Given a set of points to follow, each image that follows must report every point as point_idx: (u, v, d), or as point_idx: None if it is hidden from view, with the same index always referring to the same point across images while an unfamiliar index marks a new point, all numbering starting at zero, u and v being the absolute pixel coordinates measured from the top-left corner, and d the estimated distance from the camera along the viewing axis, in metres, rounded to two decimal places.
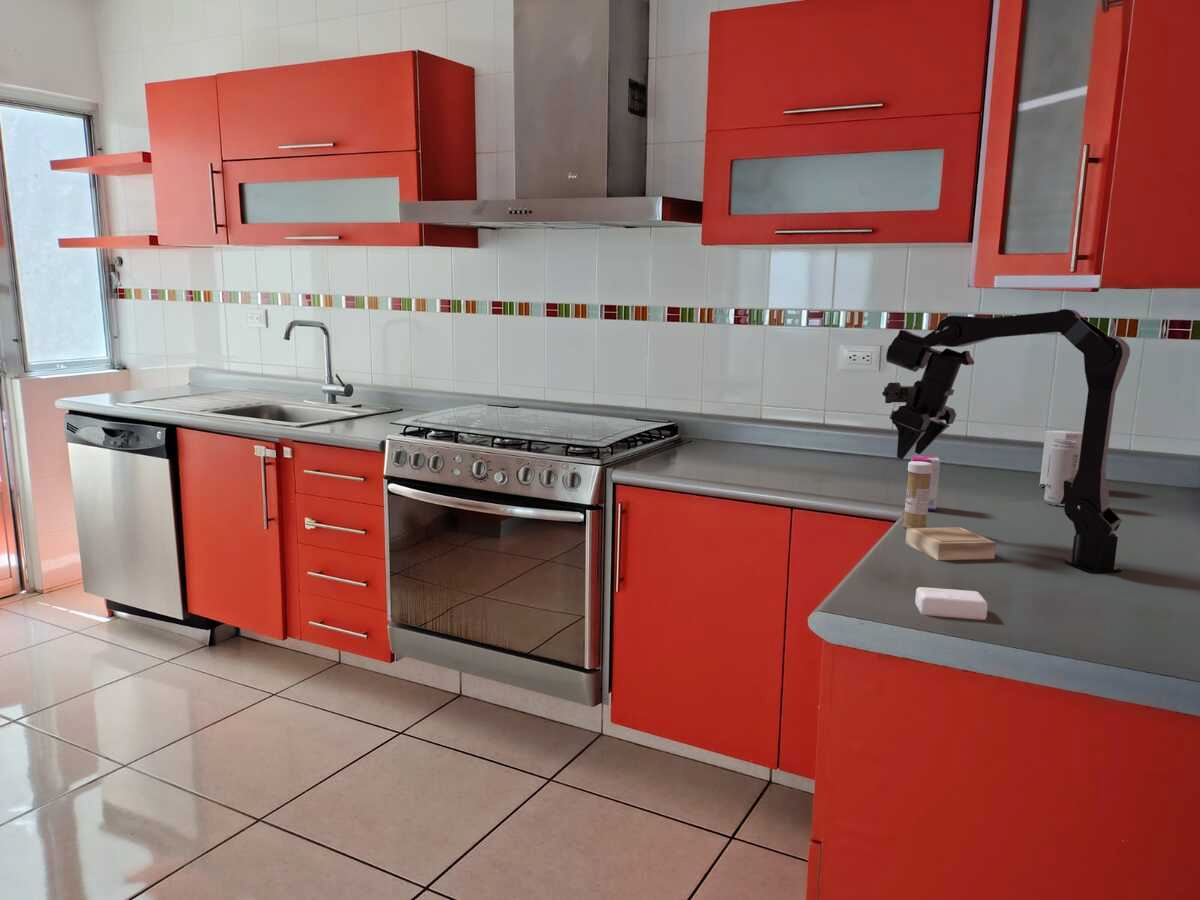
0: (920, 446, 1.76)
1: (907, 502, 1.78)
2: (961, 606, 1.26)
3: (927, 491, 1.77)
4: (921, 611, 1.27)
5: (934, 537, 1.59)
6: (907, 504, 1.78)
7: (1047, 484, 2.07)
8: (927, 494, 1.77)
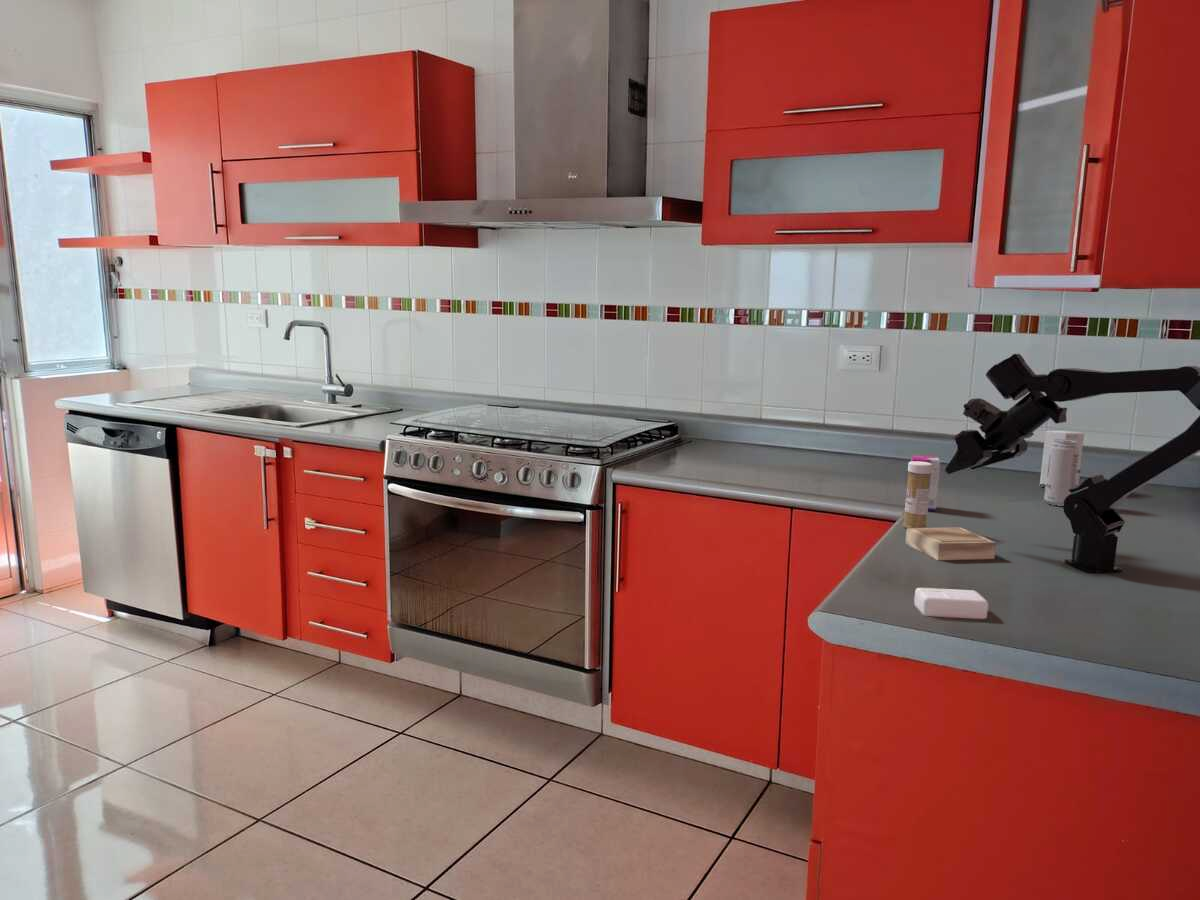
0: None
1: (907, 502, 1.78)
2: (963, 606, 1.26)
3: (927, 491, 1.77)
4: (923, 612, 1.27)
5: (934, 537, 1.59)
6: (907, 504, 1.78)
7: (1047, 484, 2.07)
8: (927, 494, 1.77)
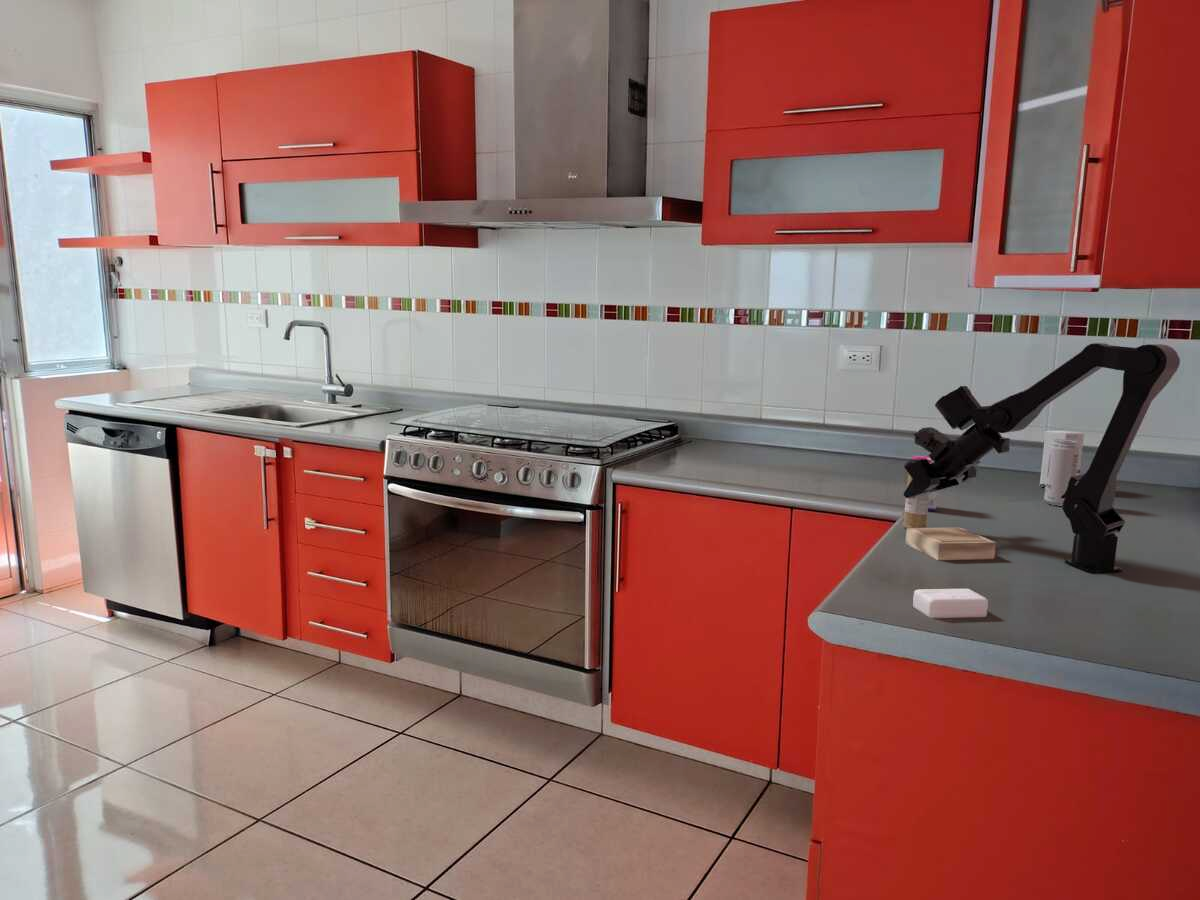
0: None
1: (907, 502, 1.78)
2: (966, 606, 1.26)
3: None
4: (929, 614, 1.26)
5: (934, 537, 1.59)
6: (907, 504, 1.78)
7: (1047, 484, 2.07)
8: (927, 494, 1.77)
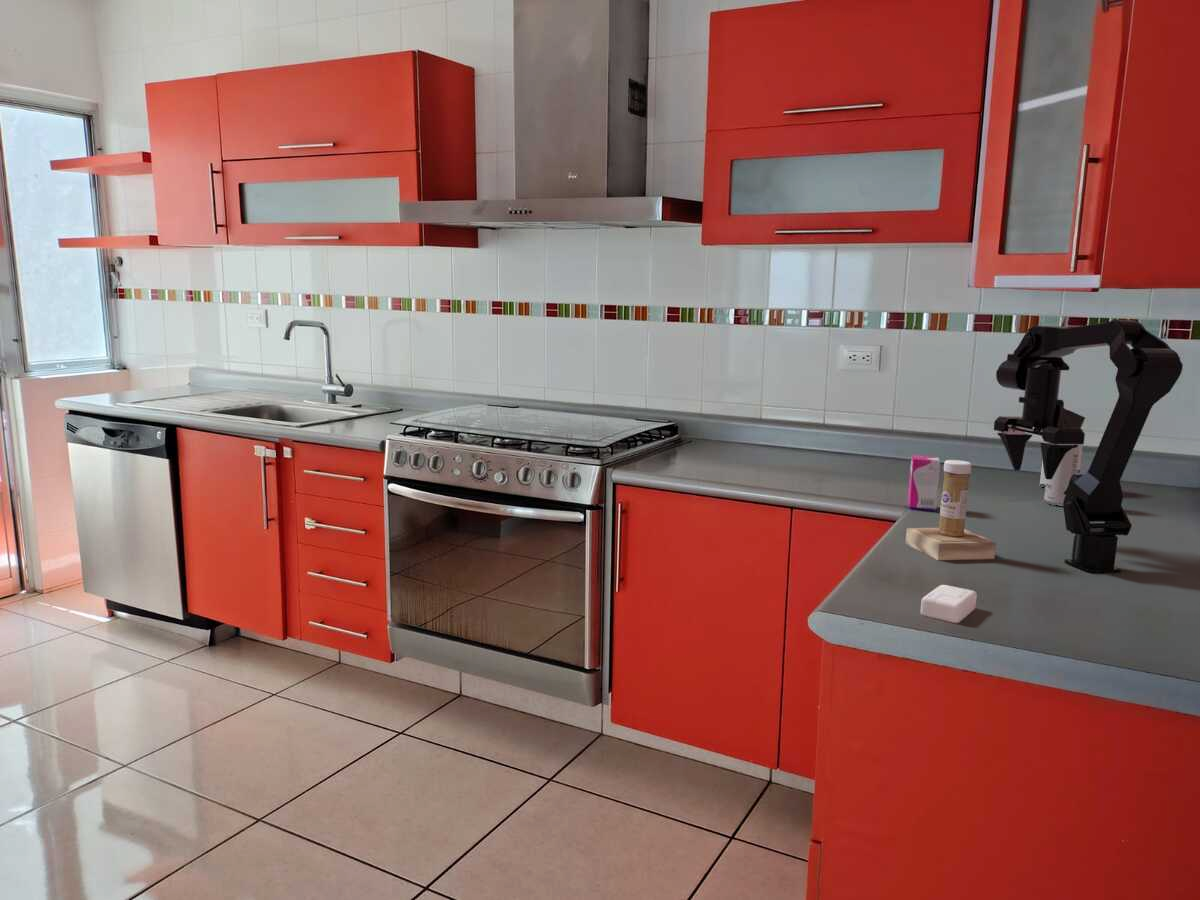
0: None
1: (948, 507, 1.60)
2: (970, 602, 1.28)
3: None
4: (955, 620, 1.24)
5: (934, 537, 1.59)
6: (948, 509, 1.60)
7: (1047, 484, 2.07)
8: (967, 496, 1.60)
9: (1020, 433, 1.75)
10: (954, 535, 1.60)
